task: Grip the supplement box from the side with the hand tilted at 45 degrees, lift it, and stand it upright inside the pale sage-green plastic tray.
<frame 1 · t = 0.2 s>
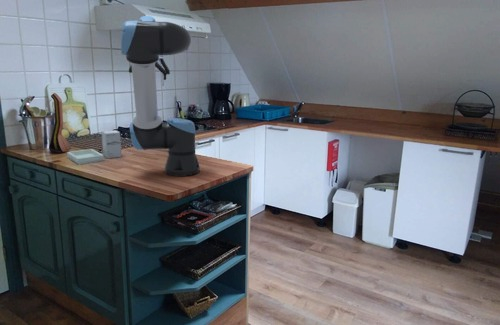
hand: (150, 83, 207), 35 cm above the table, tool tilted 35°, fingers open, 13 cm apart
supplement box: (112, 156, 197), on the table
tray: (85, 159, 191), on the table
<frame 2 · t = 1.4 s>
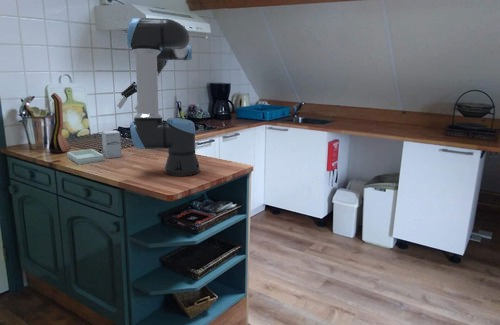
hand: (127, 108, 200), 23 cm above the table, tool tilted 45°, fingers open, 13 cm apart
nothing on the table moved.
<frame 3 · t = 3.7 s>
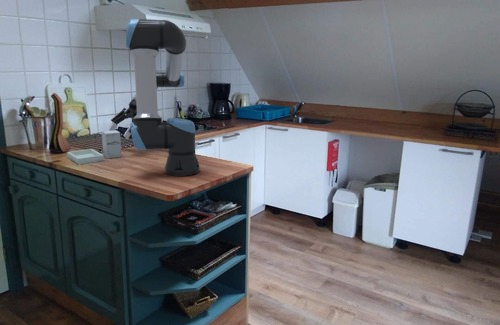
hand: (116, 135, 198), 10 cm above the table, tool tilted 45°, fingers open, 13 cm apart
nothing on the table moved.
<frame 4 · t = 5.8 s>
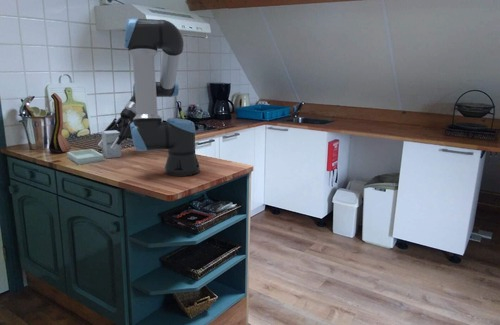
hand: (106, 148, 193), 5 cm above the table, tool tilted 45°, fingers closed on supplement box, 9 cm apart
supplement box: (112, 156, 197), on the table, touching gripper
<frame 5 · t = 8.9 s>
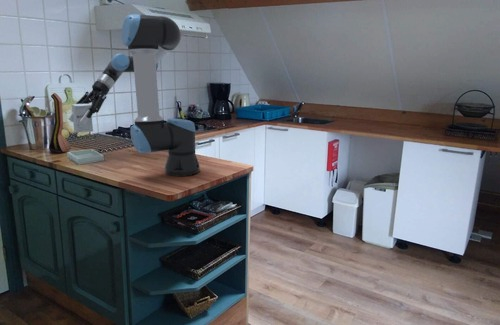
hand: (76, 121, 183), 19 cm above the table, tool tilted 45°, fingers closed on supplement box, 9 cm apart
supplement box: (83, 131, 187), point 14 cm above the table, touching gripper
when the fingers open (7 cm above the table, at t = 12.1 s): supplement box drops 1 cm, resting on tray.
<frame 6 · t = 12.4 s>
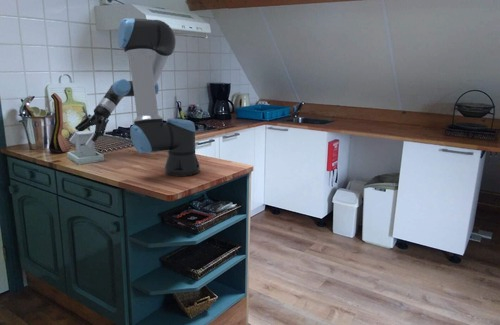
hand: (79, 144, 187), 8 cm above the table, tool tilted 45°, fingers open, 12 cm apart
supplement box: (86, 158, 190), point 1 cm above the table, touching tray
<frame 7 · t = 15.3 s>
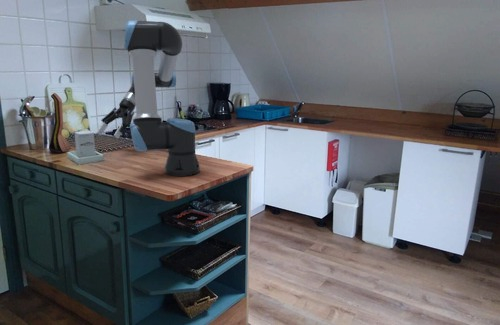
hand: (107, 135, 198), 10 cm above the table, tool tilted 45°, fingers open, 13 cm apart
nothing on the table moved.
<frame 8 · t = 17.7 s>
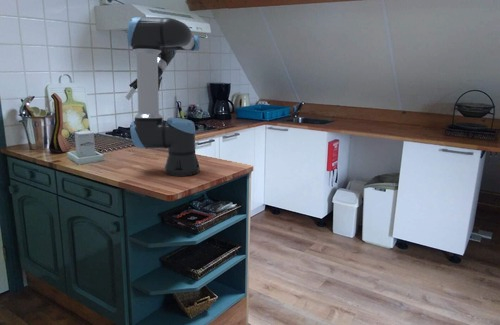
hand: (135, 99, 198), 28 cm above the table, tool tilted 45°, fingers open, 13 cm apart
nothing on the table moved.
at the end: supplement box inside the target area on the tray (0.5 cm from its centre), point 0.6 cm above the tray's base; supplement box tilted 0°; the gripper is holding nothing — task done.
